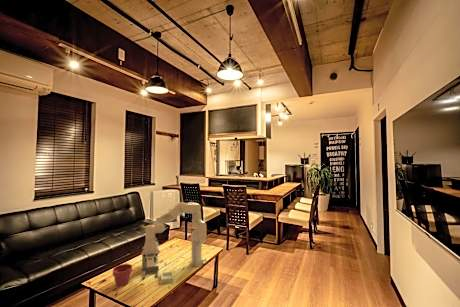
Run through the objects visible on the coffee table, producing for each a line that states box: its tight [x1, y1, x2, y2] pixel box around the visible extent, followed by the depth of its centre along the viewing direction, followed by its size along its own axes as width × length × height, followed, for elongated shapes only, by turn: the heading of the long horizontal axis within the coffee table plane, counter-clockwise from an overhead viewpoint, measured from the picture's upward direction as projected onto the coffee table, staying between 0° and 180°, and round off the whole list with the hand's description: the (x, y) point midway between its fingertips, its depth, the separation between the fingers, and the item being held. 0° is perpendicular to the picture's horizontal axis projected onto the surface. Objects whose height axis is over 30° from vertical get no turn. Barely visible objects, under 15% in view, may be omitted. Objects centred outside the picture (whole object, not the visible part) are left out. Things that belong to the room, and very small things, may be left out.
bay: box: [142, 265, 160, 280], centre depth 191 cm, size 11×11×5 cm
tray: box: [160, 271, 174, 284], centre depth 185 cm, size 10×11×3 cm
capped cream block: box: [147, 254, 155, 267], centre depth 184 cm, size 6×8×8 cm
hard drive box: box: [141, 241, 159, 271], centre depth 207 cm, size 16×8×20 cm, turn 168°
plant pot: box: [112, 263, 133, 288], centre depth 178 cm, size 14×14×13 cm
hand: (150, 261), depth 184 cm, fingers closed on capped cream block, 5 cm apart
